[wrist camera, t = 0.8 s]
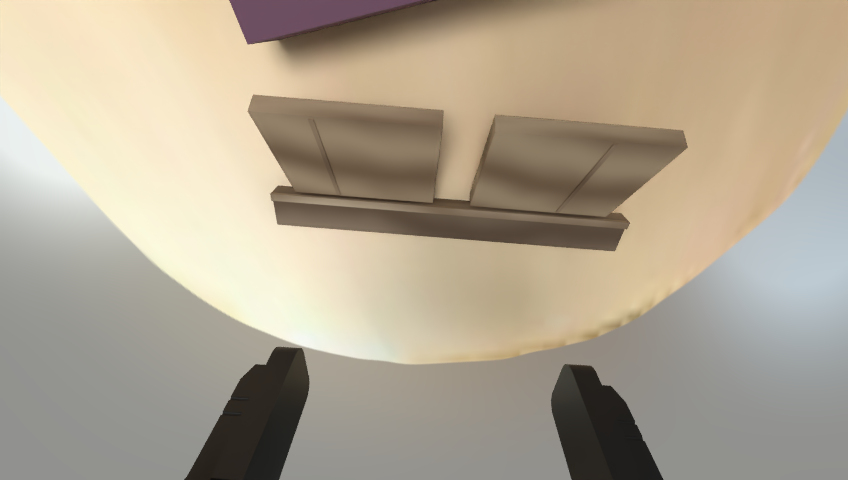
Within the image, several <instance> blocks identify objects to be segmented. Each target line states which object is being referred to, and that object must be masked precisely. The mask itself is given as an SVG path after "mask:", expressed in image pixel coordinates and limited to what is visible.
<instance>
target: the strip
mask: <svg viewBox="0 0 848 480" xmlns="http://www.w3.org/2000/svg"><path fill="white" fill-rule="evenodd" d="M270 195H271V200H272V201H273V202H274V207H275V213H276V218H277V224H279V225H291V226H304V227H316V228H329V229H341V230H354V231H366V232H379V233H392V234H404V235H417V236H429V237H442V238H454V239H467V240H479V241H492V242H504V243H517V244H529V245H542V246H555V247H567V248H580V249H592V250H605V251H615V250H616V247H617V245H618V243H619V241H620V238H621V236H622V234H623V232H624V229H627V228H628V226H629V224H630V222H629V221H628V220H627V219H626V218H625V217H624V216H623V215H622V214H621V213H610V214H609V215H607V216H606V217H601V216H588V215H576V214H563V213H551V212H539V211H526V210H514V209H501V208H489V207H477V206H470V201H461V200H448V199H436V198H433V203H427V202H415V201H402V200H390V199H377V198H365V197H353V196H340V195H328V194H315V193H303V192H295V190H294V188H293V187H287V186H277V187H276V188H275V190H274V191H273V192H272V193H271V194H270Z"/></svg>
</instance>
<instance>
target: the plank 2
mask: <svg viewBox="0 0 848 480" xmlns="http://www.w3.org/2000/svg"><path fill="white" fill-rule="evenodd" d="M686 148H688V147H687V143H686V139H685V135H684V132H683V130H671V129H659V128H647V127H635V126H623V125H611V124H599V123H587V122H575V121H563V120H551V119H539V118H527V117H515V116H503V115H495V117H494V120H493V123H492V126H491V129H490V133H489V136H488V139H487V142H486V145H485V148H484V151H483V154H482V158H481V161H480V164H479V167H478V170H477V173H476V176H475V179H474V183H473V186H472V189H471V192H470V206H477V207H489V208H501V209H514V210H526V211H539V212H551V213H563V214H576V215H588V216H601V217H606V216H607V215H609V214H610V213H611V212H612V211H613V210H614V209H616V208H617V207H618V206H619V205H620V204H622V203H623V202H624V201H625V200H626V199H627V198H629V197H630V196H631V195H632V194H633V193H634V192H636V191H637V190H638V189H639V188H640V187H642V186H643V185H644V184H645V183H646V182H647V181H649V180H650V179H651V178H652V177H653V176H655V175H656V174H657V173H658V172H659V171H660V170H662V169H663V168H664V167H665V166H666V165H668V164H669V163H670V162H671V161H672V160H673V159H675V158H676V157H677V156H678V155H679V154H681V153H682V152H683V151H684V150H685V149H686Z"/></svg>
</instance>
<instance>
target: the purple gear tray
mask: <svg viewBox="0 0 848 480" xmlns="http://www.w3.org/2000/svg"><path fill="white" fill-rule="evenodd" d="M229 1H230V3H231V5H232V8H233V10H234V13H235V15H236V17H237V20H238V22H239V25H240V27H241V29H242V32H243V34H244V37H245V39H246V42H247V44H254V43H261V42H268V41H275V40H280V39H284V38H288V37H292V36H296V35H300V34H304V33H308V32H312V31H316V30H320V29H324V28H328V27H332V26H336V25H340V24H344V23H348V22H351V21H355V20H359V19H363V18H367V17H371V16H375V15H379V14H383V13H387V12H391V11H395V10H399V9H403V8H407V7H411V6H415V5H419V4H423V3H427V2H431V1H435V0H229Z"/></svg>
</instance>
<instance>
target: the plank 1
mask: <svg viewBox="0 0 848 480" xmlns="http://www.w3.org/2000/svg"><path fill="white" fill-rule="evenodd" d="M248 113H249V114H250V116H251V118H252V119H253V121H254V123H255V124H256V126H257V128H258V129H259V131H260V133H261V134H262V136H263V138H264V139H265V141H266V143H267V145H268V146H269V148H270V150H271V151H272V153H273V155H274V156H275V158H276V160H277V161H278V163H279V165H280V166H281V168H282V170H283V171H284V173H285V175H286V177H287V178H288V180H289V182H290V183H291V185H292V187H293V188H294V190H295V192H303V193H315V194H328V195H340V196H353V197H365V198H377V199H390V200H402V201H415V202H427V203H433V197H434V189H435V181H436V174H437V166H438V158H439V150H440V143H441V135H442V127H443V110H431V109H419V108H407V107H394V106H382V105H370V104H358V103H346V102H334V101H322V100H310V99H298V98H286V97H274V96H262V95H253V96H252V99H251V102H250V105H249V108H248Z"/></svg>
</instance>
